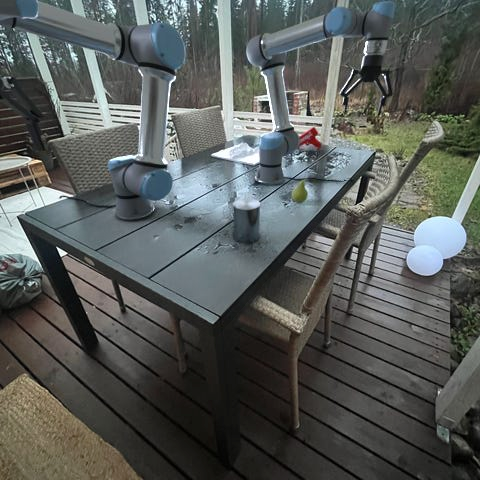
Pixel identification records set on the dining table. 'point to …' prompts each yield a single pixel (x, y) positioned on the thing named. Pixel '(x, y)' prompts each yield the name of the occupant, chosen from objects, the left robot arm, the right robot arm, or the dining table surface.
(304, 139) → the toy gun
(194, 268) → the dining table surface
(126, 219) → the left robot arm
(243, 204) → the tin
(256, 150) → the relief map
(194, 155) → the dining table surface
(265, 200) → the dining table surface
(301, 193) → the fruit
